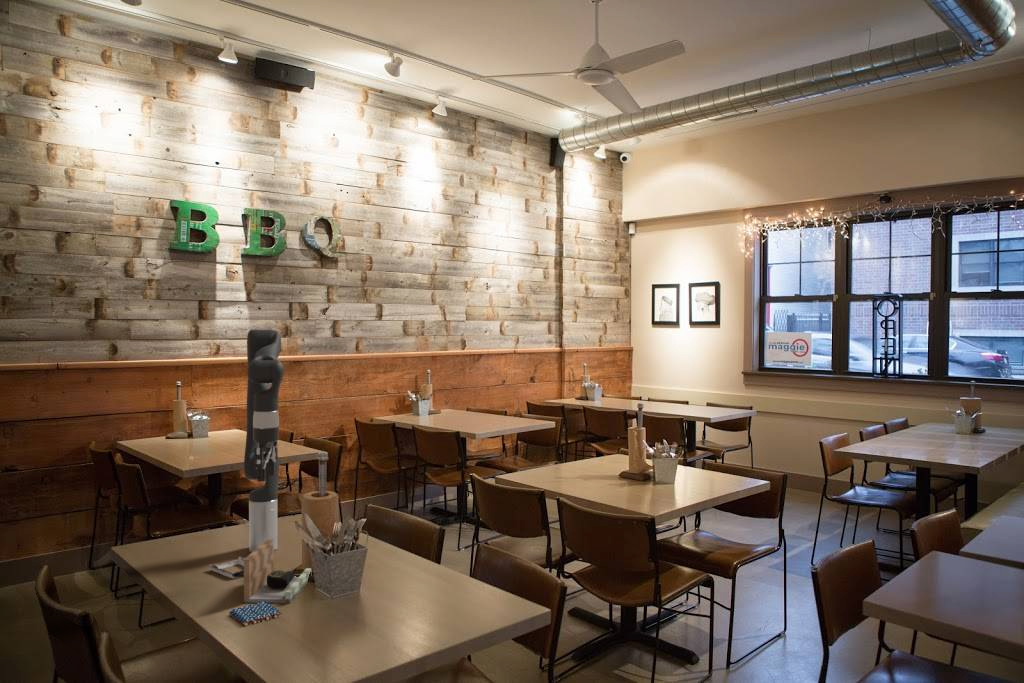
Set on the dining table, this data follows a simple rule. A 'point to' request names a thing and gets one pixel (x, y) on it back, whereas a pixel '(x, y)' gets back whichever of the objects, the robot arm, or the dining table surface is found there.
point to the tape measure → (279, 578)
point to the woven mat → (255, 613)
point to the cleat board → (256, 578)
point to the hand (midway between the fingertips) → (266, 478)
